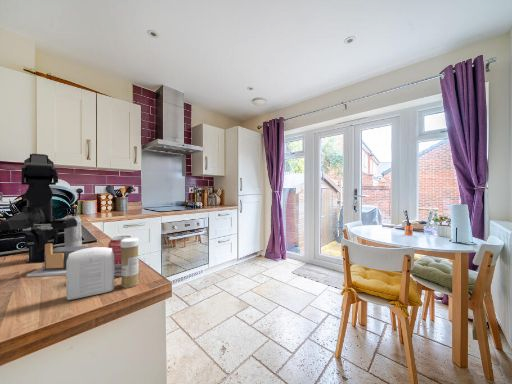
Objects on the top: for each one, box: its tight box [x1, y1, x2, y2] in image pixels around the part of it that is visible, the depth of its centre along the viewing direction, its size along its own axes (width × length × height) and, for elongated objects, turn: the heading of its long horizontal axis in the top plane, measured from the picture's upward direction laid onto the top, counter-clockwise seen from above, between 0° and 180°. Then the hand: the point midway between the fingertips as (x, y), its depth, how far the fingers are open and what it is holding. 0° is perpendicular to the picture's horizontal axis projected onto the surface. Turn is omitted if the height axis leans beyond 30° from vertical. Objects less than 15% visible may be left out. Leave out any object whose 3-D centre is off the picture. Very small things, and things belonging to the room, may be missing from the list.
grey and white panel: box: [26, 245, 92, 278], centre depth 76 cm, size 18×13×7 cm
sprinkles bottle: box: [120, 237, 140, 289], centre depth 62 cm, size 5×5×14 cm
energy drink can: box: [63, 215, 83, 247], centre depth 98 cm, size 6×6×15 cm
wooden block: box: [45, 243, 64, 268], centre depth 71 cm, size 5×1×8 cm, turn 98°
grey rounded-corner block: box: [65, 246, 115, 301], centre depth 57 cm, size 10×4×12 cm, turn 123°
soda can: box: [107, 235, 132, 278], centre depth 71 cm, size 7×7×12 cm
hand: (40, 250), depth 70 cm, fingers closed
